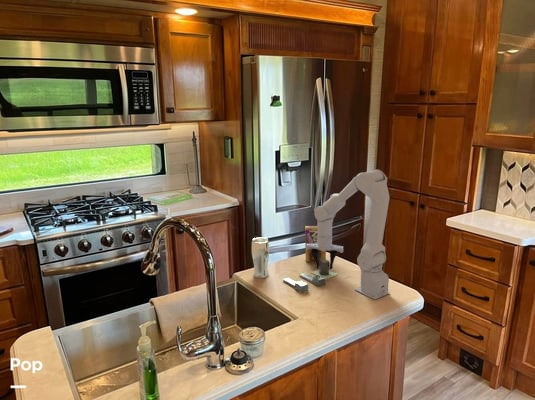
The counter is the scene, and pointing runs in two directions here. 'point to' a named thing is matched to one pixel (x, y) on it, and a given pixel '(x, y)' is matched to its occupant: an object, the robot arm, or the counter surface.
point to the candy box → (312, 239)
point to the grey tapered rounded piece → (324, 267)
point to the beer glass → (260, 257)
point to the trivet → (331, 274)
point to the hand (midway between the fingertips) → (324, 267)
